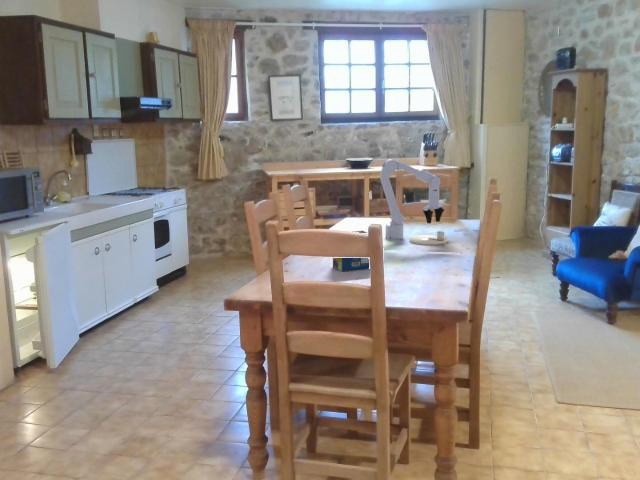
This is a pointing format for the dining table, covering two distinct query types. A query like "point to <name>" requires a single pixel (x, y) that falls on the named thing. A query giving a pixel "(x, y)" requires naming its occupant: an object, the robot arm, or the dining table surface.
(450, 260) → the dining table surface
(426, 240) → the dial
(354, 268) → the protein box
